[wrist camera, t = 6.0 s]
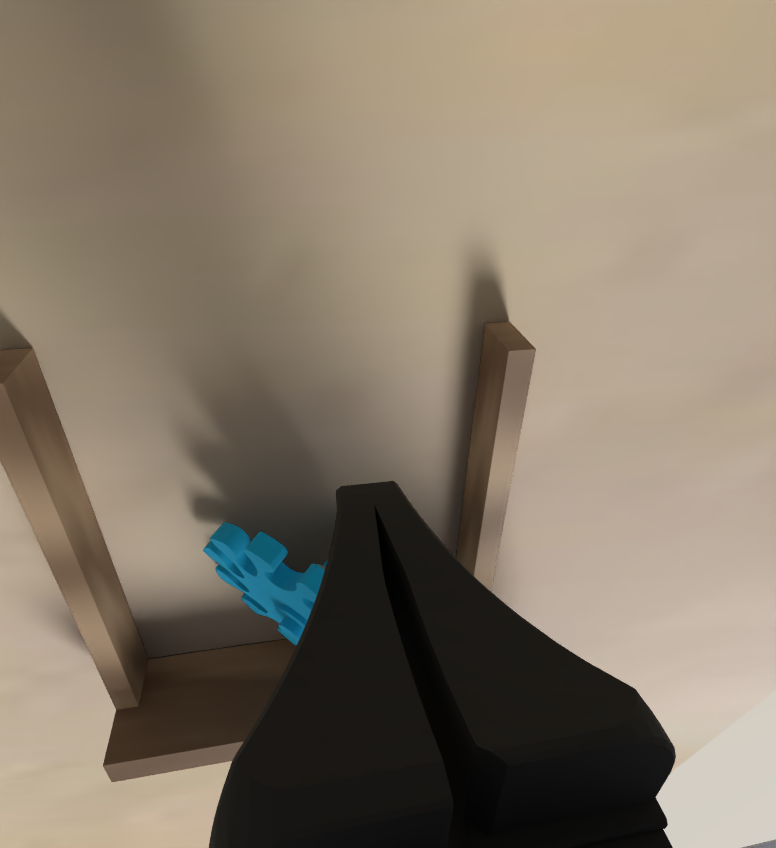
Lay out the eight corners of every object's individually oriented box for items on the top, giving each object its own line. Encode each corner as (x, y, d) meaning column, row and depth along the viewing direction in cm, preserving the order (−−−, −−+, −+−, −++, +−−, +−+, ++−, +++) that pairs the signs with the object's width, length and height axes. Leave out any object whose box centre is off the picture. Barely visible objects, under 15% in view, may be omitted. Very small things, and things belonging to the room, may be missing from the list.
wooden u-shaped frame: (463, 629, 31) (492, 714, 27) (134, 679, 28) (111, 782, 24) (509, 321, 21) (568, 383, 17) (0, 349, 18) (-79, 432, 14)
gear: (152, 517, 21) (358, 632, 16) (254, 418, 24) (452, 488, 19) (255, 641, 28) (417, 747, 23) (322, 553, 32) (477, 629, 27)
